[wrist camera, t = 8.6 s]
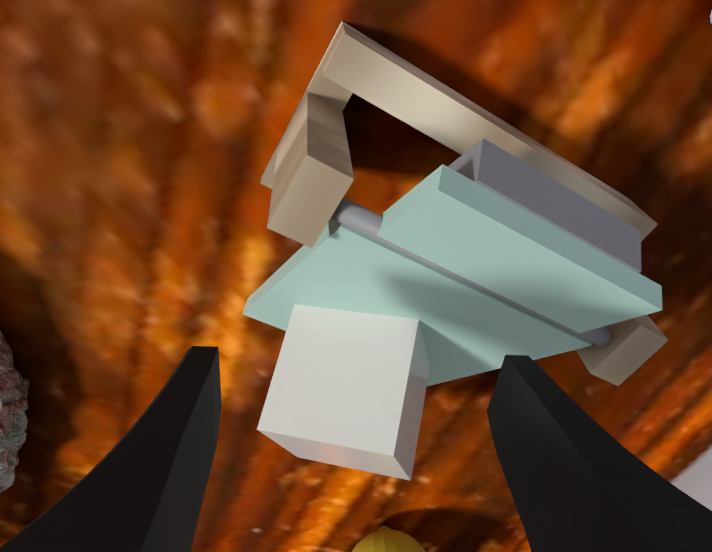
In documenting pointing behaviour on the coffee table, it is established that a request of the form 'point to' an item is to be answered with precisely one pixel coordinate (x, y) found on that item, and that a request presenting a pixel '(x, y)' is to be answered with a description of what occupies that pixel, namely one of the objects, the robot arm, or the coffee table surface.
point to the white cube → (349, 390)
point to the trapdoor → (474, 266)
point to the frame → (444, 124)
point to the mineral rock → (11, 414)
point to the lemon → (388, 542)
